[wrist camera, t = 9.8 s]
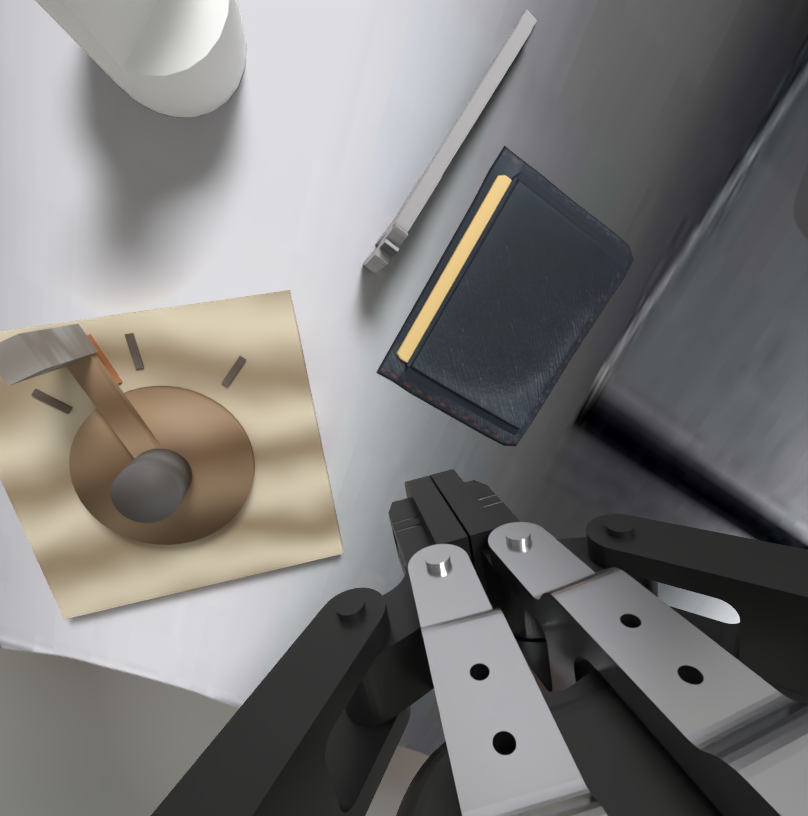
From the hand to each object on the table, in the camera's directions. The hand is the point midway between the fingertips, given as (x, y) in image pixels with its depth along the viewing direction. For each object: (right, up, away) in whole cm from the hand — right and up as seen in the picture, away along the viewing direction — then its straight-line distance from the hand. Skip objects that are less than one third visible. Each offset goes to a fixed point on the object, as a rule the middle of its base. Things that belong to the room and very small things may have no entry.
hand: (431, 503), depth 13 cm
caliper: (+2, +22, +19) cm, 29 cm away
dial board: (-19, -1, +21) cm, 28 cm away
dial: (-19, +1, +18) cm, 26 cm away
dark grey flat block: (+8, +11, +24) cm, 27 cm away
